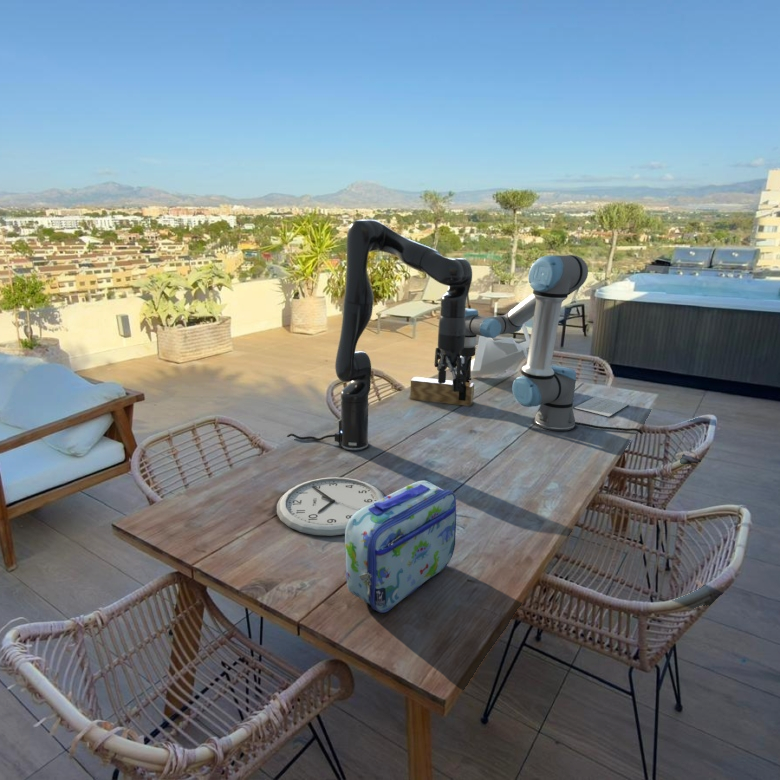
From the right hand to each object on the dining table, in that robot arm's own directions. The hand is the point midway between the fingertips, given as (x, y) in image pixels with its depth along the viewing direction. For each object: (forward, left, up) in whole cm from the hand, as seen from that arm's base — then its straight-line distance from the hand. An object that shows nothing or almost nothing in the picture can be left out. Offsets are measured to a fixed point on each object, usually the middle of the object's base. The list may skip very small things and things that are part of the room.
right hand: (463, 397), depth 227 cm
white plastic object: (-20, -34, -3) cm, 39 cm away
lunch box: (+15, +124, -3) cm, 125 cm away
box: (+10, -2, -3) cm, 10 cm away
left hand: (+7, +73, +26) cm, 78 cm away
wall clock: (+37, +94, -3) cm, 101 cm away
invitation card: (-59, -5, -3) cm, 60 cm away
